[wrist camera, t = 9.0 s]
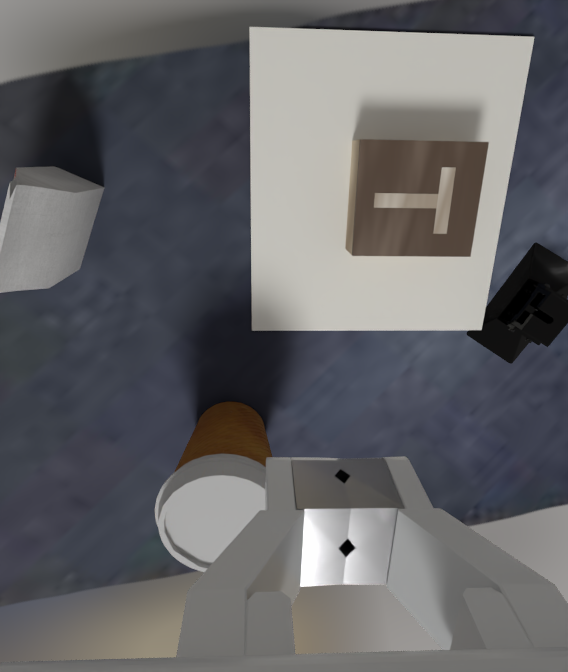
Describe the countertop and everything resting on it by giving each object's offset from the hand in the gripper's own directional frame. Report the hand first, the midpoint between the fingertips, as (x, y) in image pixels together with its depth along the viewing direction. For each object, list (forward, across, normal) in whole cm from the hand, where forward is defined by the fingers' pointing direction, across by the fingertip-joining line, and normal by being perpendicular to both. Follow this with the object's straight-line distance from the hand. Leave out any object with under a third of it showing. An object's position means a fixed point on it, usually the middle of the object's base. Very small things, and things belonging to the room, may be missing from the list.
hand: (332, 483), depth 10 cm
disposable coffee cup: (+29, +4, +17) cm, 34 cm away
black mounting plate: (+30, -21, +5) cm, 37 cm away
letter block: (+28, -5, -4) cm, 28 cm away
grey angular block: (+29, +16, -2) cm, 34 cm away
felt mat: (+29, -8, -4) cm, 30 cm away
